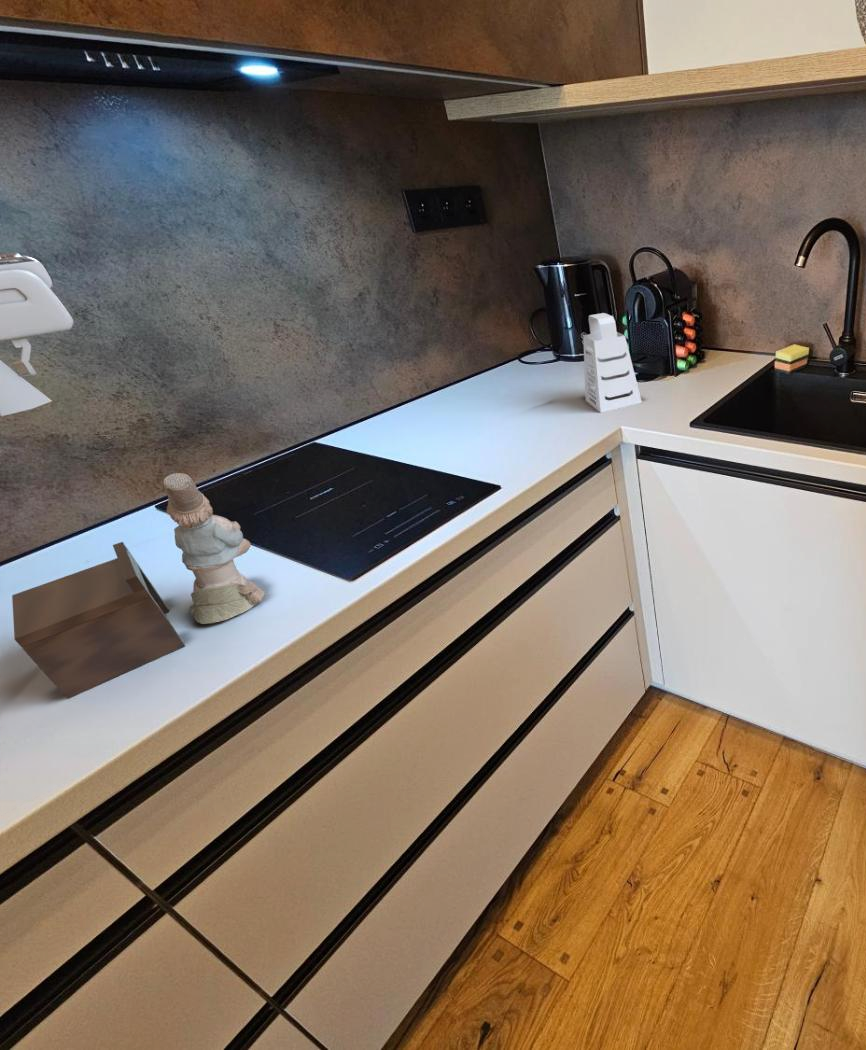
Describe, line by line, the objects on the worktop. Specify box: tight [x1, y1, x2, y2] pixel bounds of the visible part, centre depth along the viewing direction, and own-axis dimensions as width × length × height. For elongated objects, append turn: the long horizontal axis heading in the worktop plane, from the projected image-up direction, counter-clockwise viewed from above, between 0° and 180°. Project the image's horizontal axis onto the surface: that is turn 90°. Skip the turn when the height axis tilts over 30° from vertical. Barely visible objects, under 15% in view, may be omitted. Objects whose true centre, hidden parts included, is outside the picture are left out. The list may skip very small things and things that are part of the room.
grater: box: [582, 312, 643, 414], centre depth 136 cm, size 10×10×20 cm
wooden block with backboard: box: [11, 541, 186, 700], centre depth 70 cm, size 11×12×11 cm
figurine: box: [162, 472, 266, 625], centre depth 74 cm, size 9×8×20 cm
